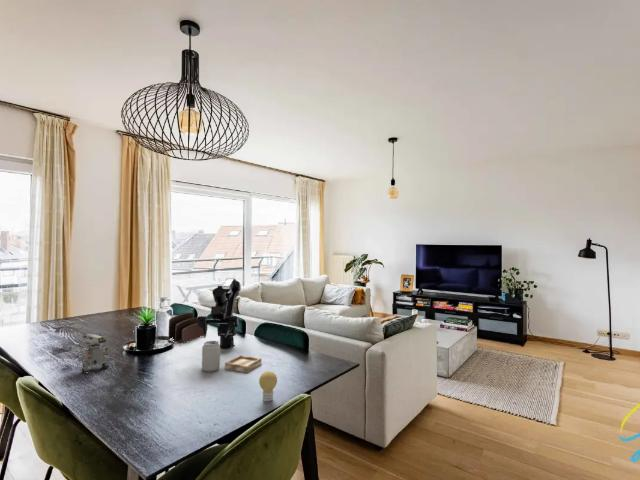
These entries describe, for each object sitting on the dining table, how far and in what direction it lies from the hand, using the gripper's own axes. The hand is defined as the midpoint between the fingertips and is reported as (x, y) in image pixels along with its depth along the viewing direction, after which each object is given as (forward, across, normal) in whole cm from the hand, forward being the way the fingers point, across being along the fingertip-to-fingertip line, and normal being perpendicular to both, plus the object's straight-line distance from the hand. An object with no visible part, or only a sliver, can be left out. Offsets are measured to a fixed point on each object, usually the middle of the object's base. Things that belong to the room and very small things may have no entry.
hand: (214, 337), depth 157 cm
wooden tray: (+11, +14, +7) cm, 19 cm away
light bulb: (+35, +28, -17) cm, 48 cm away
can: (+13, 0, +4) cm, 14 cm away
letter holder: (-22, -26, +40) cm, 53 cm away
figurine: (+12, -51, +6) cm, 53 cm away
